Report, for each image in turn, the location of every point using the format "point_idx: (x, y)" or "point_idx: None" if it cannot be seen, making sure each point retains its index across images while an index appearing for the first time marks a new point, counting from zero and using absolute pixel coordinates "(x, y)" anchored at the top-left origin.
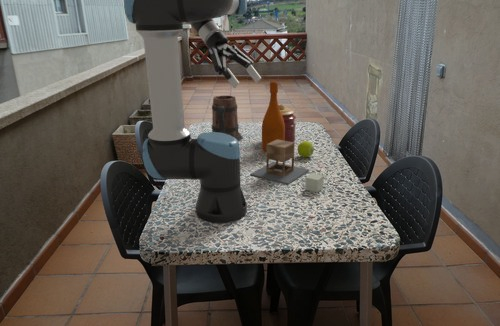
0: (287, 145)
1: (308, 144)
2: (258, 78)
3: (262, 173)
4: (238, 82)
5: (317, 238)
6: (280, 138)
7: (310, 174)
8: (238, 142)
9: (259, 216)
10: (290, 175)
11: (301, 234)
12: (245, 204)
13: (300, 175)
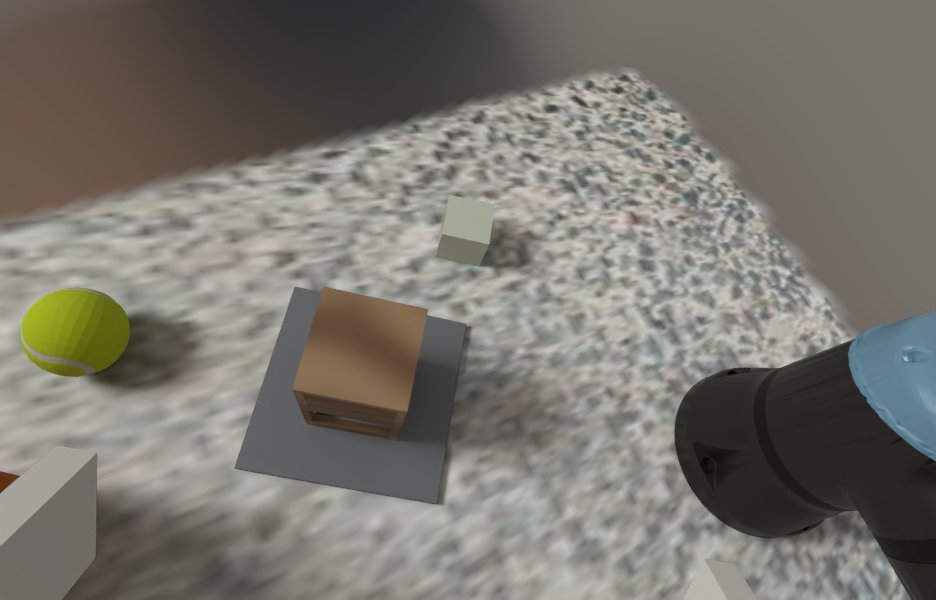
0: (387, 305)
1: (87, 300)
2: (79, 500)
3: (410, 453)
4: (725, 569)
5: (710, 192)
6: (11, 477)
7: (456, 234)
8: (919, 318)
9: (704, 335)
10: None
11: (716, 223)
12: (728, 371)
13: None
